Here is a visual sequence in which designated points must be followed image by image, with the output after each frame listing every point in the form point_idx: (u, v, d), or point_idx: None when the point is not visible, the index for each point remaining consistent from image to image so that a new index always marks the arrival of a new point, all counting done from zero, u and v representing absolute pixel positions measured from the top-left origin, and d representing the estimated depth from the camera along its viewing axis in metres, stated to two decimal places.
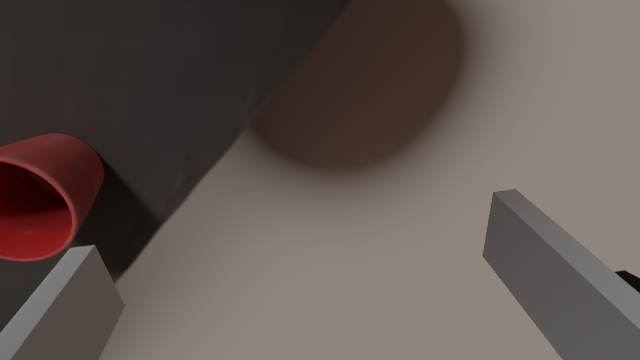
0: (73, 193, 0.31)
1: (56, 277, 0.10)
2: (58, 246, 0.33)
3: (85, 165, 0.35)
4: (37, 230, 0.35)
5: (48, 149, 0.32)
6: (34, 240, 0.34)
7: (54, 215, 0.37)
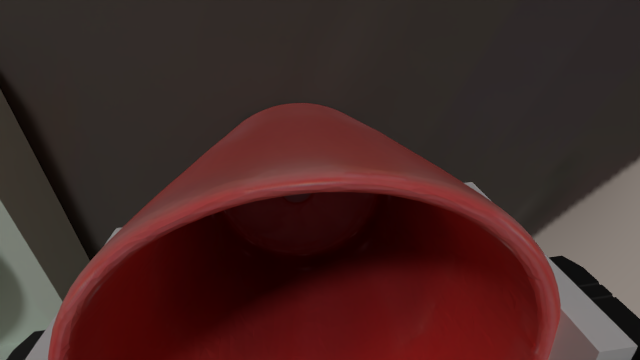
0: None
1: None
2: None
3: None
4: None
5: (395, 141, 0.10)
6: None
7: (290, 311, 0.15)
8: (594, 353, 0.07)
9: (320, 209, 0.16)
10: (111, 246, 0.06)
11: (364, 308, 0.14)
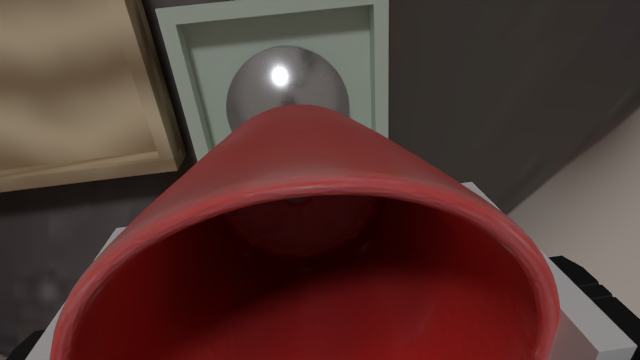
0: None
1: None
2: None
3: None
4: None
5: (395, 143, 0.10)
6: None
7: (291, 311, 0.15)
8: (593, 353, 0.07)
9: (320, 210, 0.16)
10: (112, 249, 0.06)
11: (364, 309, 0.14)
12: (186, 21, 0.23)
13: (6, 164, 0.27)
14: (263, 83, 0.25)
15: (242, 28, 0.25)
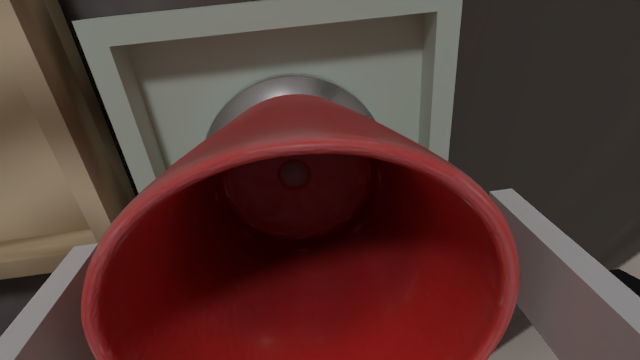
0: None
1: (60, 275, 0.10)
2: None
3: None
4: (281, 334, 0.14)
5: None
6: None
7: (289, 286, 0.16)
8: None
9: (316, 194, 0.17)
10: (138, 199, 0.07)
11: (356, 282, 0.15)
12: (127, 41, 0.14)
13: None
14: None
15: (223, 50, 0.16)
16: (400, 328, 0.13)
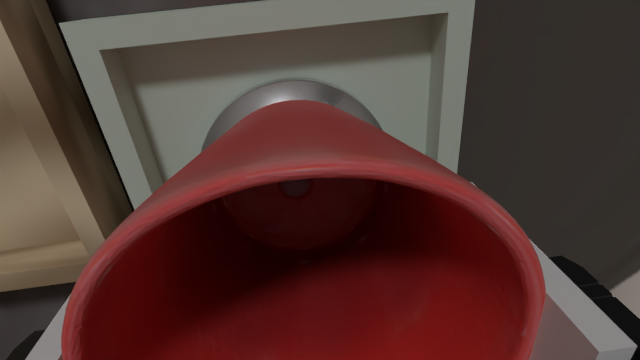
0: None
1: None
2: None
3: None
4: (282, 355, 0.13)
5: None
6: None
7: (290, 302, 0.15)
8: (594, 353, 0.07)
9: (319, 204, 0.16)
10: (122, 228, 0.06)
11: (361, 298, 0.15)
12: (118, 44, 0.13)
13: None
14: None
15: (221, 53, 0.15)
16: (409, 351, 0.12)
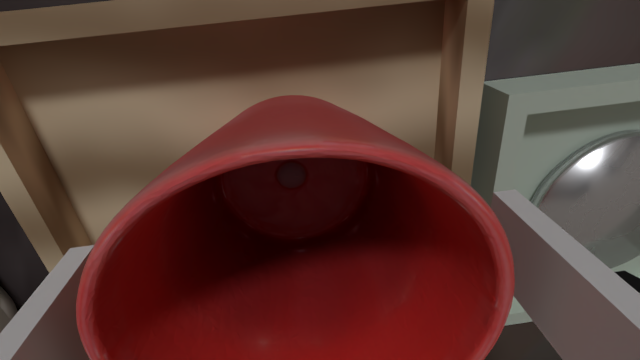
0: None
1: (56, 277, 0.10)
2: None
3: None
4: (278, 335, 0.14)
5: None
6: None
7: (286, 287, 0.16)
8: None
9: (313, 195, 0.17)
10: (131, 203, 0.07)
11: (353, 283, 0.15)
12: (543, 110, 0.16)
13: None
14: (599, 179, 0.18)
15: (584, 110, 0.18)
16: (396, 330, 0.13)
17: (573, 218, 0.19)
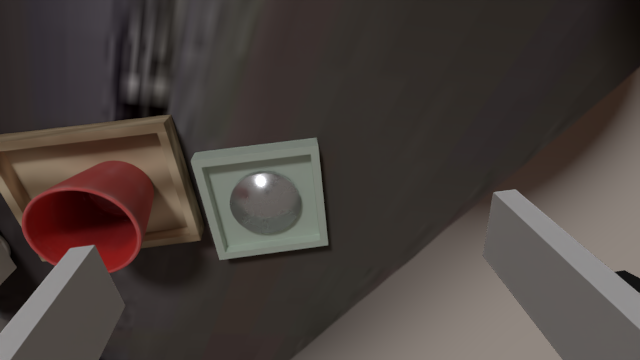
0: (138, 216, 0.36)
1: (56, 277, 0.10)
2: (122, 261, 0.37)
3: (142, 189, 0.40)
4: (100, 247, 0.40)
5: (114, 177, 0.37)
6: None
7: (112, 233, 0.42)
8: None
9: None
10: (31, 200, 0.33)
11: (134, 230, 0.41)
12: (207, 165, 0.42)
13: None
14: (250, 191, 0.44)
15: (238, 163, 0.44)
16: (134, 242, 0.39)
17: (247, 207, 0.45)
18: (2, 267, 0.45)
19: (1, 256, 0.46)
